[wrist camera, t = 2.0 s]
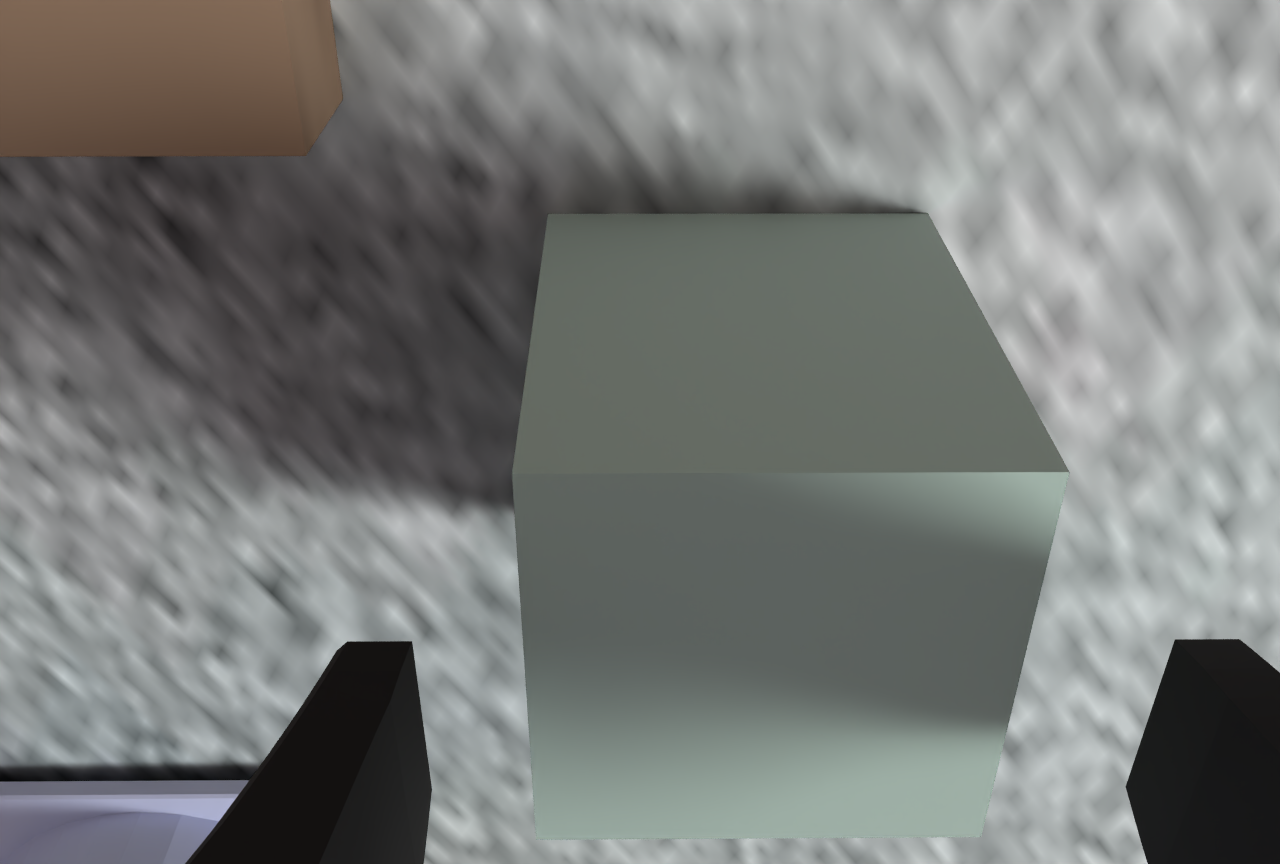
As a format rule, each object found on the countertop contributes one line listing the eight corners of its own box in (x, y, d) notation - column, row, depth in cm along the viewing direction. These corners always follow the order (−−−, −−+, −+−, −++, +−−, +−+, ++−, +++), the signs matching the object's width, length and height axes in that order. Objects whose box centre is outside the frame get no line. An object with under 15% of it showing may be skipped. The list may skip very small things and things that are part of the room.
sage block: (883, 516, 18) (981, 836, 13) (560, 516, 18) (536, 839, 13) (927, 212, 16) (1069, 472, 11) (548, 212, 16) (512, 474, 11)
